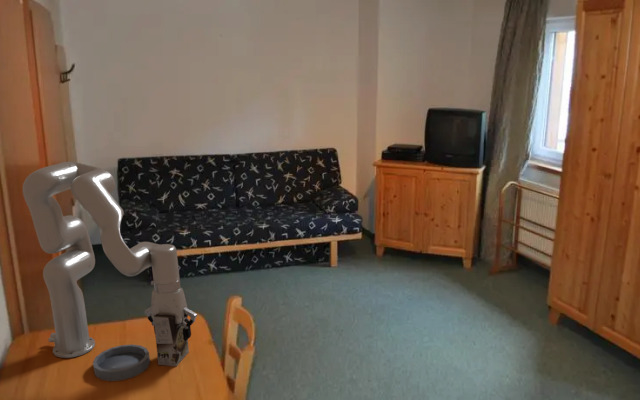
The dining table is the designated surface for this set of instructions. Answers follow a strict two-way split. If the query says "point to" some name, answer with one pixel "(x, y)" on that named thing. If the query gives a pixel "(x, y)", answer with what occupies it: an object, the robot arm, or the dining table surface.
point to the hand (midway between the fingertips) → (173, 337)
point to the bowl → (121, 362)
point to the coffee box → (169, 340)
